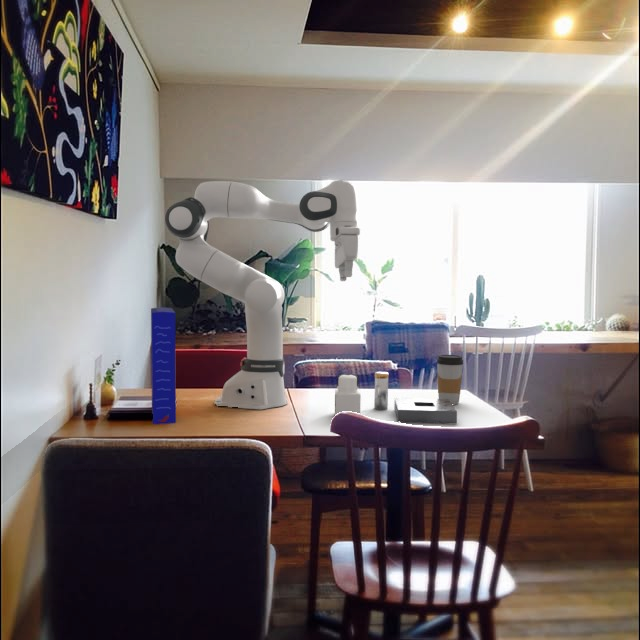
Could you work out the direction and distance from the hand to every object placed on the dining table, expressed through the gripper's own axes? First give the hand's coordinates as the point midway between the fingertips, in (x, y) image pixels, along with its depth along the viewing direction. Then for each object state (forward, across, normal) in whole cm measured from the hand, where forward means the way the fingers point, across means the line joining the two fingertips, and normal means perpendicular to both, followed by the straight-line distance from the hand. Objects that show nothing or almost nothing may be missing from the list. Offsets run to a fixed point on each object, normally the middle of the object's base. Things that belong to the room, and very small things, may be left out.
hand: (346, 279), depth 185 cm
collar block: (+41, +11, +20) cm, 47 cm away
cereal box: (+39, +2, -54) cm, 67 cm away
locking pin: (+40, 0, +10) cm, 41 cm away
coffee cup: (+39, -7, +33) cm, 52 cm away
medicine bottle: (+41, +8, -2) cm, 42 cm away
